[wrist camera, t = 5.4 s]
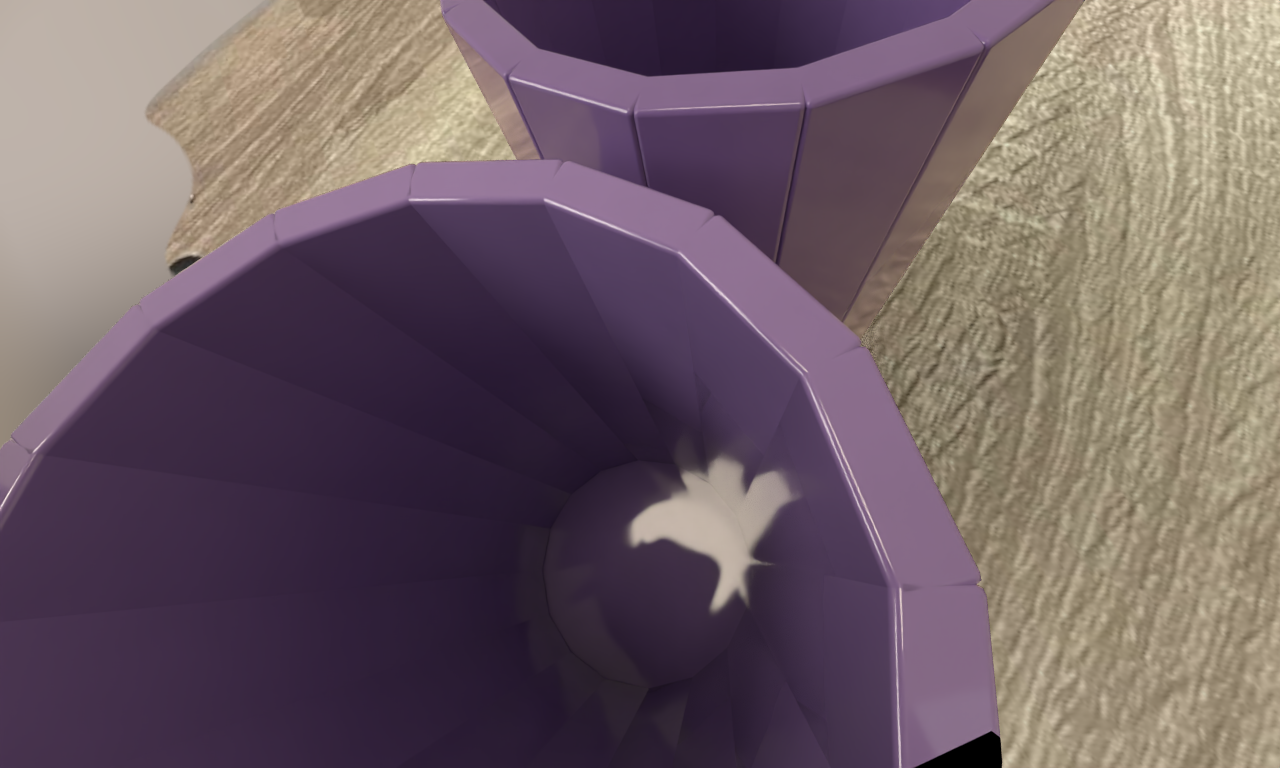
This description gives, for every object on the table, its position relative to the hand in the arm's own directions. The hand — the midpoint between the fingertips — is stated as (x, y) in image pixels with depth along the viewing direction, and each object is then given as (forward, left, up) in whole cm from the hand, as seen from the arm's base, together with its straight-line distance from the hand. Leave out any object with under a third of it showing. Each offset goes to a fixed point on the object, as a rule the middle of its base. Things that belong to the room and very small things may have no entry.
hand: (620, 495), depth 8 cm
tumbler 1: (+5, +3, -7) cm, 9 cm away
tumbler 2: (-1, -1, -7) cm, 7 cm away
